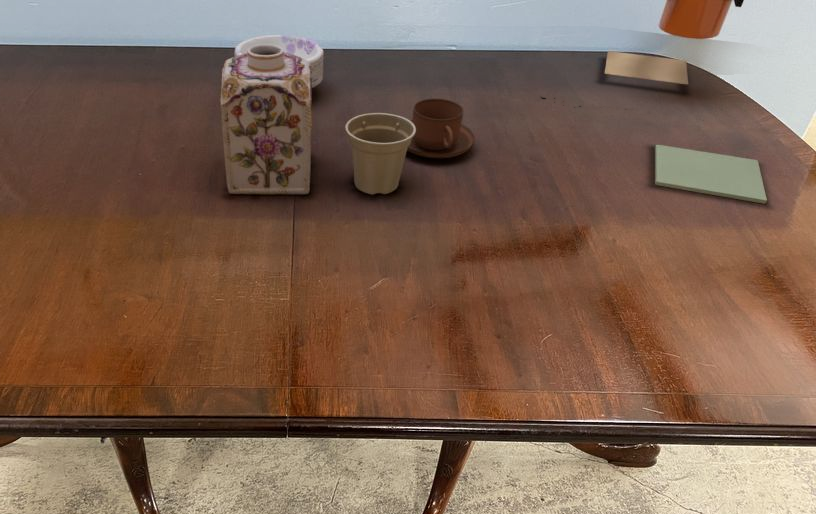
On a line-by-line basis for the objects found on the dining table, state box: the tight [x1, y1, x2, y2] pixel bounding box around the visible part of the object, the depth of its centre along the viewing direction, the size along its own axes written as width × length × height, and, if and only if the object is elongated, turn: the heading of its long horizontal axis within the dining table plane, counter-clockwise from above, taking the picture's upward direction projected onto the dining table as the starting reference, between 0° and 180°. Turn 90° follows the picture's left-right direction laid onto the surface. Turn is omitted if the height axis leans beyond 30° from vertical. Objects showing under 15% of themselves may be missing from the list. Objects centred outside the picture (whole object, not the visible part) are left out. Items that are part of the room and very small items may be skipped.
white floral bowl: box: [233, 34, 325, 89], centre depth 116 cm, size 15×15×8 cm
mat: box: [654, 144, 768, 205], centre depth 97 cm, size 14×12×1 cm
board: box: [604, 50, 689, 85], centre depth 124 cm, size 14×12×2 cm
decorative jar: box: [218, 44, 314, 195], centre depth 91 cm, size 12×12×18 cm
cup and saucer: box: [406, 98, 476, 159], centre depth 101 cm, size 12×12×6 cm
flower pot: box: [344, 112, 416, 195], centre depth 92 cm, size 9×9×9 cm
